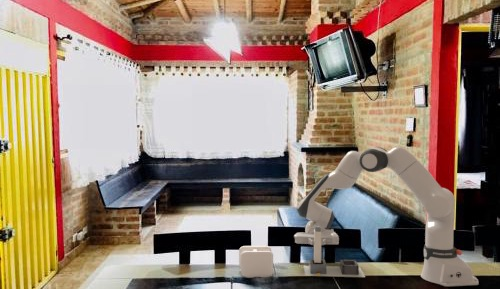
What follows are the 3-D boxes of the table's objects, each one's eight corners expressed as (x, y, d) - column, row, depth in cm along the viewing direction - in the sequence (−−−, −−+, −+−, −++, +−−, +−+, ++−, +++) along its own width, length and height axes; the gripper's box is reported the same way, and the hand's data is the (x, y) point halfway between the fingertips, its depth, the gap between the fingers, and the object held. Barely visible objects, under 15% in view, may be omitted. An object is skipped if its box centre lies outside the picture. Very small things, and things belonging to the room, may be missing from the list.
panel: (359, 269, 191) (359, 258, 191) (365, 279, 178) (365, 268, 178) (303, 267, 193) (303, 257, 193) (305, 277, 180) (305, 266, 180)
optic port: (324, 267, 190) (324, 259, 190) (326, 274, 182) (326, 265, 182) (309, 267, 191) (309, 259, 190) (310, 273, 183) (310, 264, 182)
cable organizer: (239, 278, 180) (239, 252, 180) (239, 269, 191) (239, 245, 190) (273, 277, 181) (273, 251, 180) (271, 269, 191) (271, 244, 191)
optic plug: (320, 259, 188) (320, 225, 187) (321, 262, 184) (321, 227, 183) (313, 259, 188) (314, 225, 188) (314, 262, 184) (314, 227, 184)
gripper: (293, 228, 199) (294, 235, 186) (336, 229, 198) (340, 236, 184) (293, 241, 200) (294, 249, 186) (336, 242, 198) (340, 250, 184)
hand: (317, 243), depth 185 cm, fingers closed on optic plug, 3 cm apart
